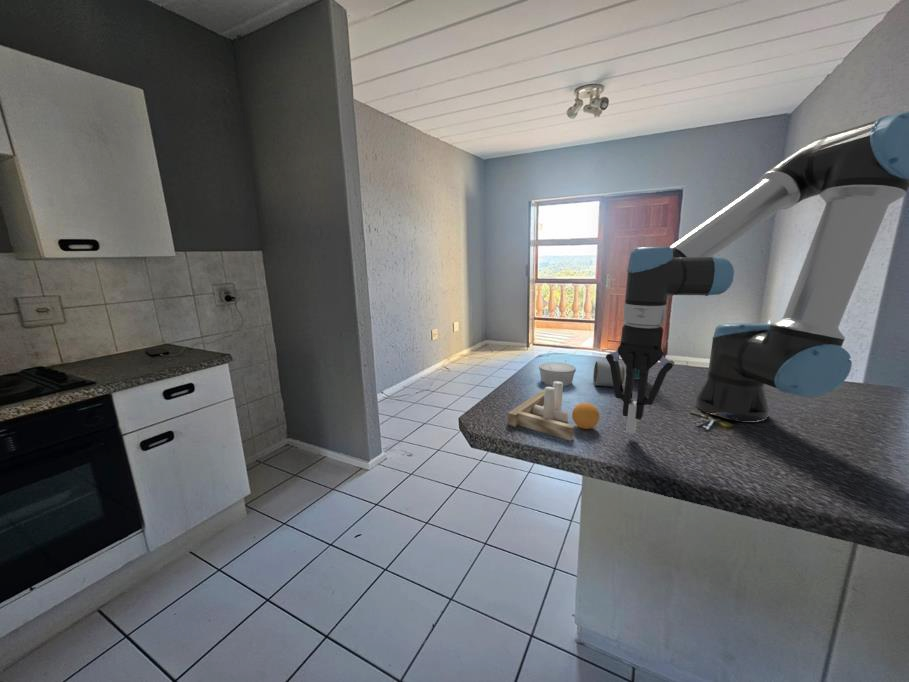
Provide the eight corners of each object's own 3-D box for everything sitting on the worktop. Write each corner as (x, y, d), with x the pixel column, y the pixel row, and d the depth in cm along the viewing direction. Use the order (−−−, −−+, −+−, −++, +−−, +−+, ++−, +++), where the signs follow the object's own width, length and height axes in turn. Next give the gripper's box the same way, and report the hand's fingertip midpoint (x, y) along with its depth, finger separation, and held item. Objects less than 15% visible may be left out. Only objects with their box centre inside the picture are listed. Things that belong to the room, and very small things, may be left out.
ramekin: (531, 379, 121) (532, 364, 120) (558, 375, 125) (559, 360, 124) (553, 390, 111) (554, 373, 110) (582, 385, 115) (583, 369, 114)
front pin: (568, 411, 90) (536, 403, 95) (565, 414, 88) (532, 405, 93) (568, 420, 90) (536, 412, 95) (564, 423, 88) (532, 414, 93)
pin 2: (562, 414, 93) (564, 382, 92) (558, 417, 92) (560, 385, 90) (553, 411, 95) (555, 380, 93) (549, 415, 93) (551, 383, 91)
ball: (572, 405, 90) (585, 427, 89) (563, 413, 85) (577, 436, 84) (593, 395, 86) (607, 418, 85) (585, 403, 82) (600, 427, 81)
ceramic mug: (624, 390, 110) (626, 365, 109) (595, 388, 112) (597, 364, 110) (617, 380, 120) (619, 357, 119) (590, 378, 122) (592, 356, 121)
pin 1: (554, 421, 90) (556, 388, 88) (550, 424, 88) (552, 390, 86) (545, 418, 91) (547, 386, 89) (541, 421, 89) (543, 388, 87)
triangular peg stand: (597, 412, 94) (598, 401, 94) (568, 443, 79) (569, 430, 78) (542, 399, 103) (543, 389, 102) (507, 424, 88) (507, 412, 87)
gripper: (604, 324, 76) (595, 429, 81) (676, 331, 68) (661, 446, 73) (614, 319, 82) (605, 417, 87) (682, 325, 74) (667, 432, 79)
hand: (630, 430), depth 80 cm, fingers closed
